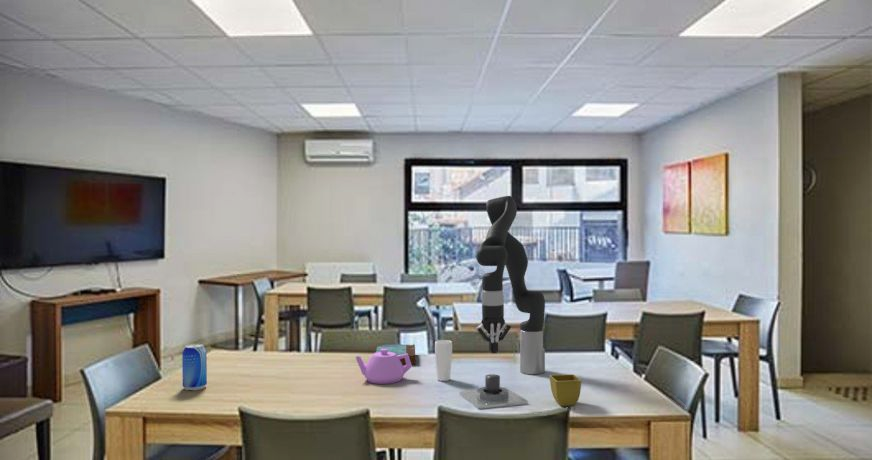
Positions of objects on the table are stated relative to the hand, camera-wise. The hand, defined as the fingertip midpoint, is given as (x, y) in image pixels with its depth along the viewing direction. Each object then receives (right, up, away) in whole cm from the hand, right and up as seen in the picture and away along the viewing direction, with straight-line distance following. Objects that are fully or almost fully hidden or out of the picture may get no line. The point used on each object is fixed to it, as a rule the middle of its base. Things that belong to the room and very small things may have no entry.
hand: (493, 352), depth 211 cm
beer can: (-110, -17, +17) cm, 113 cm away
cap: (0, -15, 0) cm, 15 cm away
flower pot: (+24, -16, -6) cm, 29 cm away
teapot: (-40, -16, +27) cm, 52 cm away
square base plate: (0, -16, 0) cm, 16 cm away
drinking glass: (-17, -16, +27) cm, 35 cm away
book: (-38, -16, +62) cm, 74 cm away
